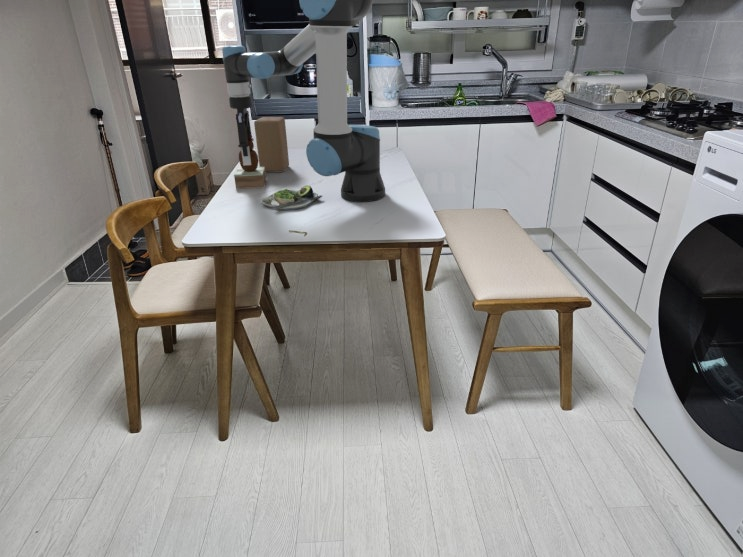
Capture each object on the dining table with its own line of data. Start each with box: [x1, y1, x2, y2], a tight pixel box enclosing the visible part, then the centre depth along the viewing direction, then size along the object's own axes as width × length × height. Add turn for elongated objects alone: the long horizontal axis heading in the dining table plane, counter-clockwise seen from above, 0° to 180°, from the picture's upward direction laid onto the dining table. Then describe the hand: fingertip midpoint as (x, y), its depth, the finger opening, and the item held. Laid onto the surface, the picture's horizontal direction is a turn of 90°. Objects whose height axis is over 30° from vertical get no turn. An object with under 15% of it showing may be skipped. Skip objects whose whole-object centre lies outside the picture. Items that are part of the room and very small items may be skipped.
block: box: [253, 116, 290, 173], centre depth 194 cm, size 10×10×20 cm
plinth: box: [233, 166, 267, 189], centre depth 179 cm, size 10×10×5 cm
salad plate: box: [261, 185, 323, 211], centre depth 158 cm, size 19×18×5 cm
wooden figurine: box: [238, 133, 259, 172], centre depth 174 cm, size 7×6×15 cm
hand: (248, 162), depth 176 cm, fingers open, 7 cm apart
